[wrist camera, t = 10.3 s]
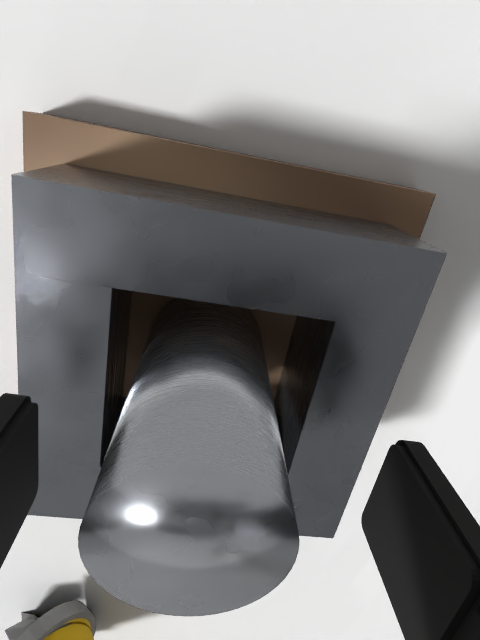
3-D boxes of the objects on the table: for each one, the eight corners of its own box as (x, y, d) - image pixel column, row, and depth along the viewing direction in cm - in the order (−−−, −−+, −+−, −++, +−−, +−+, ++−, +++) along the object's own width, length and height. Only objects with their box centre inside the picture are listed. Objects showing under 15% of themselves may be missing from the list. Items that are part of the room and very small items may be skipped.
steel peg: (248, 395, 18) (270, 623, 9) (144, 379, 17) (72, 607, 9) (272, 301, 16) (325, 482, 8) (158, 280, 15) (84, 450, 7)
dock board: (321, 463, 22) (329, 485, 20) (42, 434, 20) (29, 457, 18) (416, 189, 16) (435, 194, 15) (40, 113, 14) (22, 111, 13)
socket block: (310, 462, 20) (333, 538, 16) (60, 437, 18) (22, 514, 14) (389, 224, 15) (447, 253, 11) (65, 163, 13) (11, 174, 10)
